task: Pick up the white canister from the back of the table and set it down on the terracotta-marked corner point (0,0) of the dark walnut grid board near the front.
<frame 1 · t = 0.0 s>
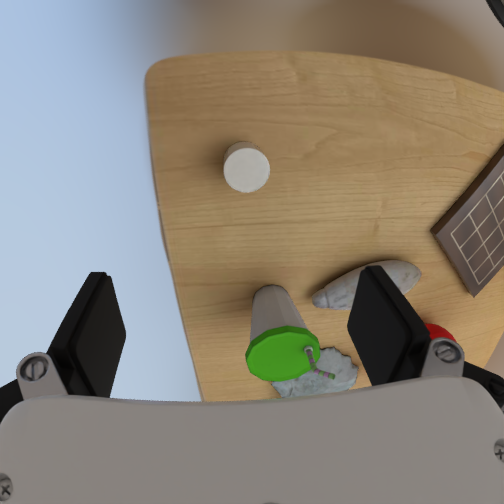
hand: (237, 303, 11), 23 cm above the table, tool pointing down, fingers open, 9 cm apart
cup: (270, 298, 40), on the table
stone: (314, 378, 49), on the table
decorative stone: (364, 278, 40), on the table
white canister: (244, 161, 31), on the table
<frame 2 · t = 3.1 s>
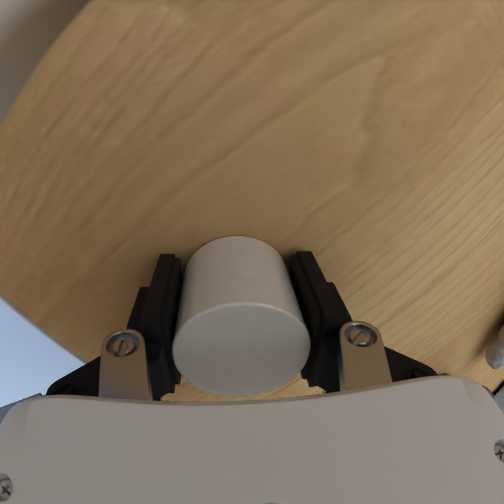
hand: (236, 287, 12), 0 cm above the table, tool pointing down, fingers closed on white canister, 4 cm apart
white canister: (235, 283, 12), on the table, touching gripper
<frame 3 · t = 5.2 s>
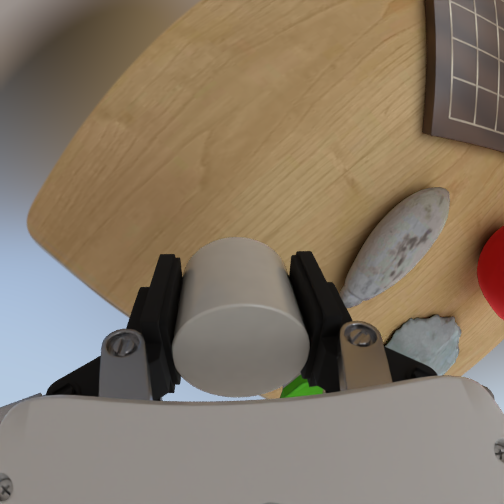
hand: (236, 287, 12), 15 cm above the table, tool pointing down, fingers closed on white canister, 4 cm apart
cup: (301, 323, 33), on the table
stone: (415, 352, 39), on the table
decorative stone: (386, 239, 29), on the table
tomato: (492, 251, 32), on the table
white canister: (235, 283, 12), point 15 cm above the table, touching gripper
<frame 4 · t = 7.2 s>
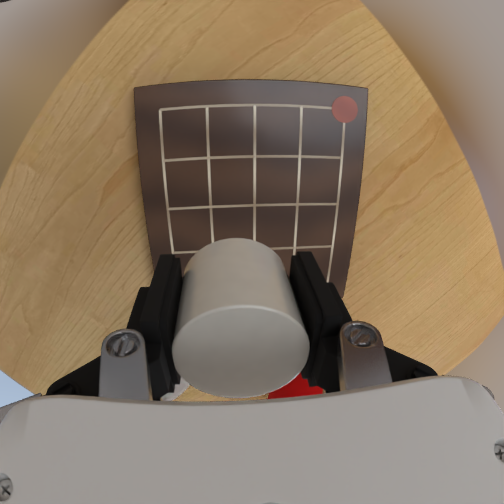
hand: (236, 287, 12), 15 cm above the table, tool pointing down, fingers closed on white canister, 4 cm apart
board: (338, 108, 23), on the table
tomato: (306, 371, 38), on the table
white canister: (235, 284, 13), point 15 cm above the table, touching gripper
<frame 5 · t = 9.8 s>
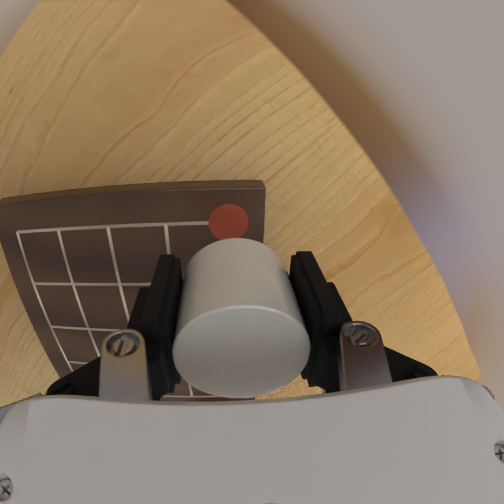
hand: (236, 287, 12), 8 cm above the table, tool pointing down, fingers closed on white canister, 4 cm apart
board: (227, 212, 19), on the table
white canister: (235, 284, 12), point 7 cm above the table, touching gripper
when the fingers open (2 cm above the table, at t = 11.5 s): white canister stays where it is, resting on board.
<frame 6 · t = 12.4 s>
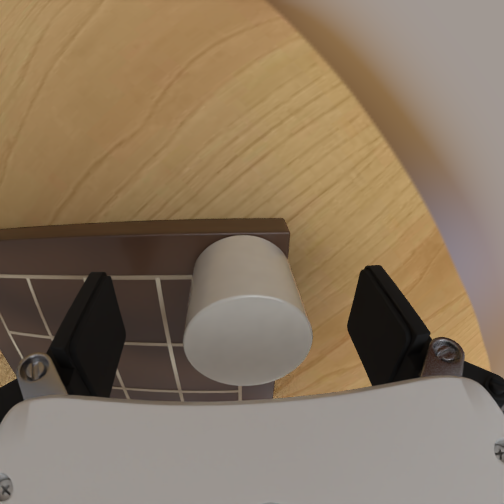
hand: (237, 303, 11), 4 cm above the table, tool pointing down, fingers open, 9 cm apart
board: (238, 258, 15), on the table
white canister: (241, 279, 13), point 2 cm above the table, touching board
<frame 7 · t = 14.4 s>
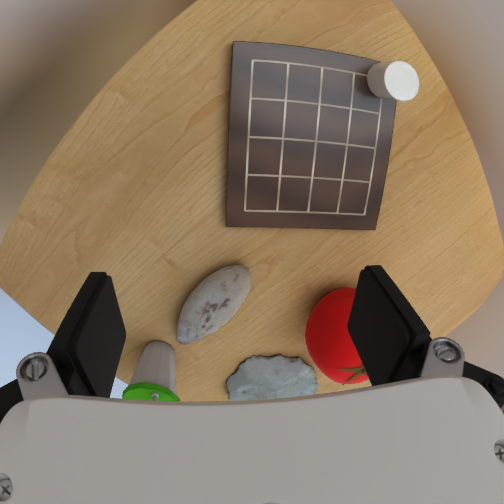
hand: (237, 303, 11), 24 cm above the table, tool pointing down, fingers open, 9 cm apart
cup: (159, 349, 45), on the table
board: (376, 79, 29), on the table
stone: (272, 381, 51), on the table
decorative stone: (209, 298, 41), on the table
tomato: (337, 307, 44), on the table
white canister: (383, 80, 28), point 2 cm above the table, touching board
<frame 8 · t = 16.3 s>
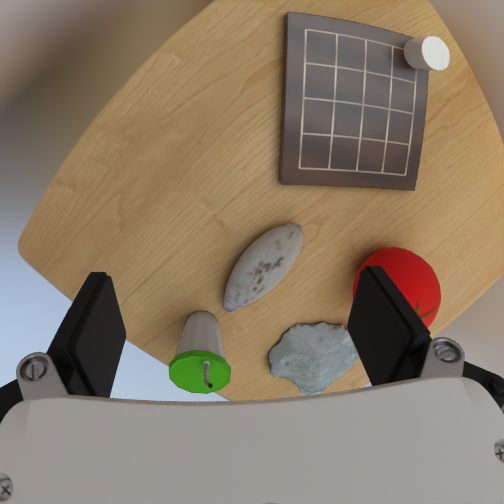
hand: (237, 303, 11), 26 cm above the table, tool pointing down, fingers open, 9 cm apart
cup: (202, 321, 46), on the table
board: (410, 53, 29), on the table
stone: (313, 351, 51), on the table
decorative stone: (258, 262, 42), on the table
tomato: (378, 270, 44), on the table
white canister: (417, 54, 28), point 2 cm above the table, touching board
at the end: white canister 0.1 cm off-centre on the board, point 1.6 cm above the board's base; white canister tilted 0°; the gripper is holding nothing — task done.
